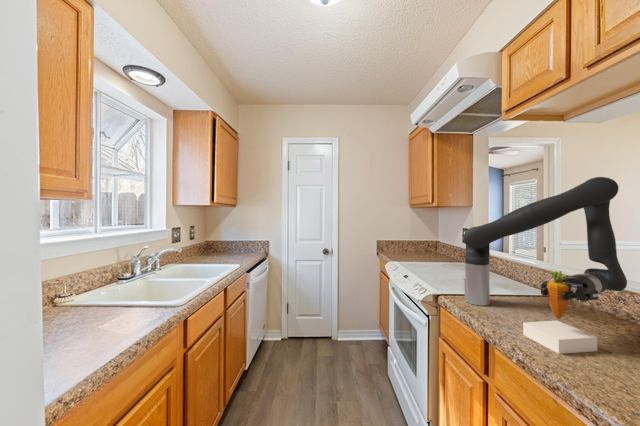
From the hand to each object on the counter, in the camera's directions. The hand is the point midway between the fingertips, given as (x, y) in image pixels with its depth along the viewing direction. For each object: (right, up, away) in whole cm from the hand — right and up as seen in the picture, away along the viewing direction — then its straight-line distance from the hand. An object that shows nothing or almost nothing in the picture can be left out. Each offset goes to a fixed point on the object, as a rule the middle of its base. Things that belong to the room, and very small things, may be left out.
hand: (553, 294), depth 82 cm
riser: (+3, -15, +1) cm, 15 cm away
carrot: (+3, -8, +1) cm, 9 cm away
